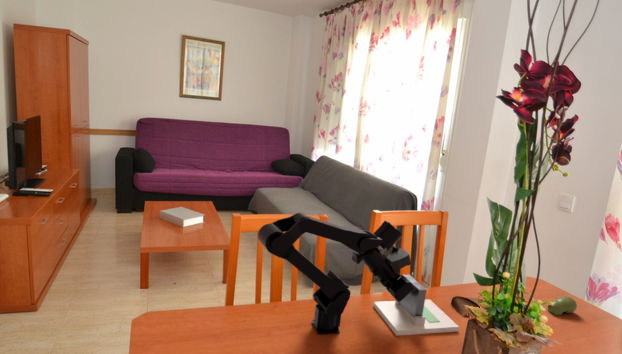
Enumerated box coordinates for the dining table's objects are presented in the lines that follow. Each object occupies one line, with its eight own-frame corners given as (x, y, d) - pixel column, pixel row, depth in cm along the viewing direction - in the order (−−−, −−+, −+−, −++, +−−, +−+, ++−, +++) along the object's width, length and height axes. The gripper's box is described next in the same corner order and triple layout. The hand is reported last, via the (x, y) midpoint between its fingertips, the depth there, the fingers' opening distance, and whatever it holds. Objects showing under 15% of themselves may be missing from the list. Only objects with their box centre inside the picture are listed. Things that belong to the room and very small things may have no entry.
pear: (581, 300, 137) (558, 306, 135) (579, 314, 139) (556, 320, 136) (567, 292, 142) (543, 298, 140) (565, 305, 144) (542, 311, 141)
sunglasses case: (461, 317, 129) (459, 295, 131) (451, 317, 135) (450, 296, 138) (515, 320, 130) (513, 298, 132) (503, 320, 137) (501, 299, 139)
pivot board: (396, 335, 115) (398, 322, 114) (373, 306, 130) (375, 294, 129) (458, 331, 121) (460, 318, 120) (429, 303, 136) (431, 292, 135)
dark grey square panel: (413, 322, 119) (419, 290, 117) (397, 304, 129) (402, 274, 127) (421, 321, 120) (426, 289, 118) (404, 304, 129) (409, 274, 127)
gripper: (412, 255, 109) (442, 291, 114) (382, 231, 127) (409, 263, 132) (381, 283, 108) (413, 319, 114) (355, 255, 126) (384, 287, 131)
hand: (405, 295), depth 123 cm, fingers closed
